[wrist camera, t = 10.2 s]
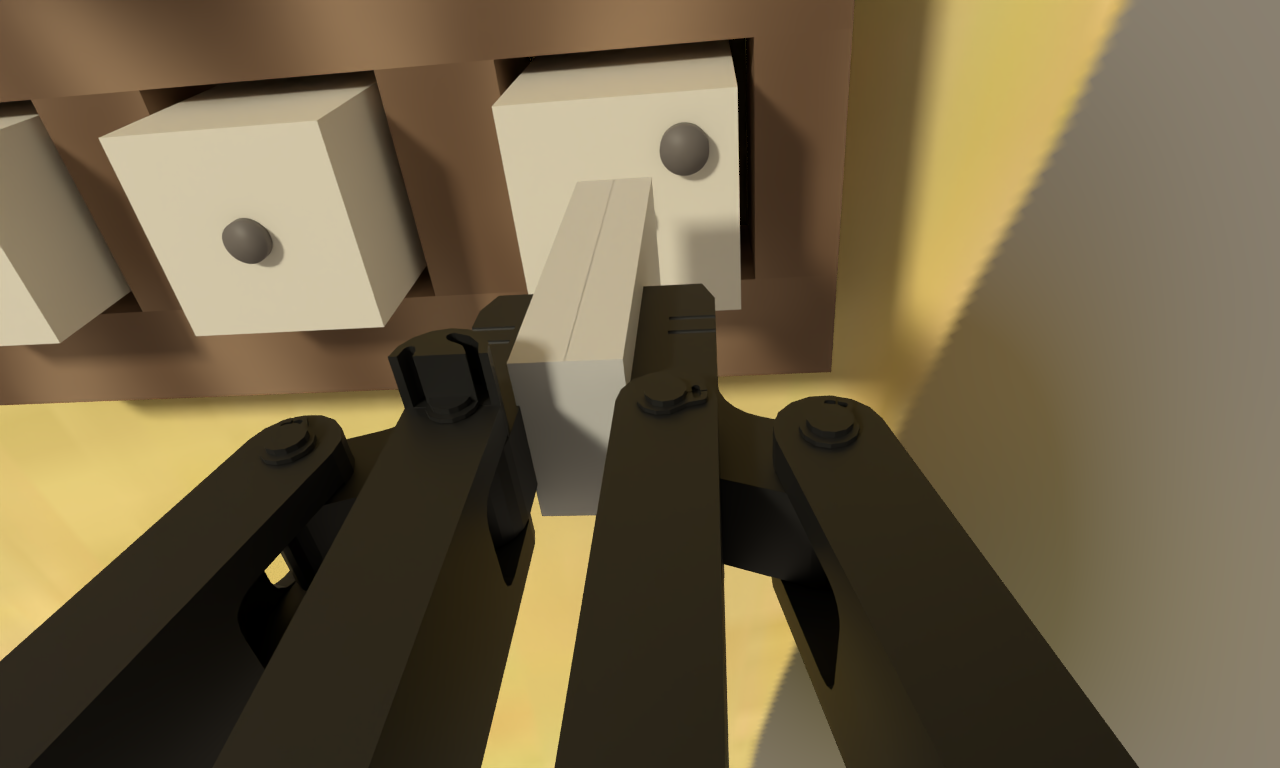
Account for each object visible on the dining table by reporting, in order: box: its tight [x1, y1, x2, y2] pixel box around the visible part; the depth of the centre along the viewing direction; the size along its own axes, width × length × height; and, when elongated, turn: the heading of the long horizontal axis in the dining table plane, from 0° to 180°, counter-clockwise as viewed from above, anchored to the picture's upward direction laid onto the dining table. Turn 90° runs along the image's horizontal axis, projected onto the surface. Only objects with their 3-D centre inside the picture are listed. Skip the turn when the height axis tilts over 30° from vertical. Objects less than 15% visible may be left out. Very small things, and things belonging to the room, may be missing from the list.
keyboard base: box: [0, 0, 855, 405], centre depth 22 cm, size 30×13×4 cm, turn 95°
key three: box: [492, 39, 741, 311], centre depth 20 cm, size 5×6×6 cm
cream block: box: [99, 70, 427, 336], centre depth 21 cm, size 5×6×6 cm
